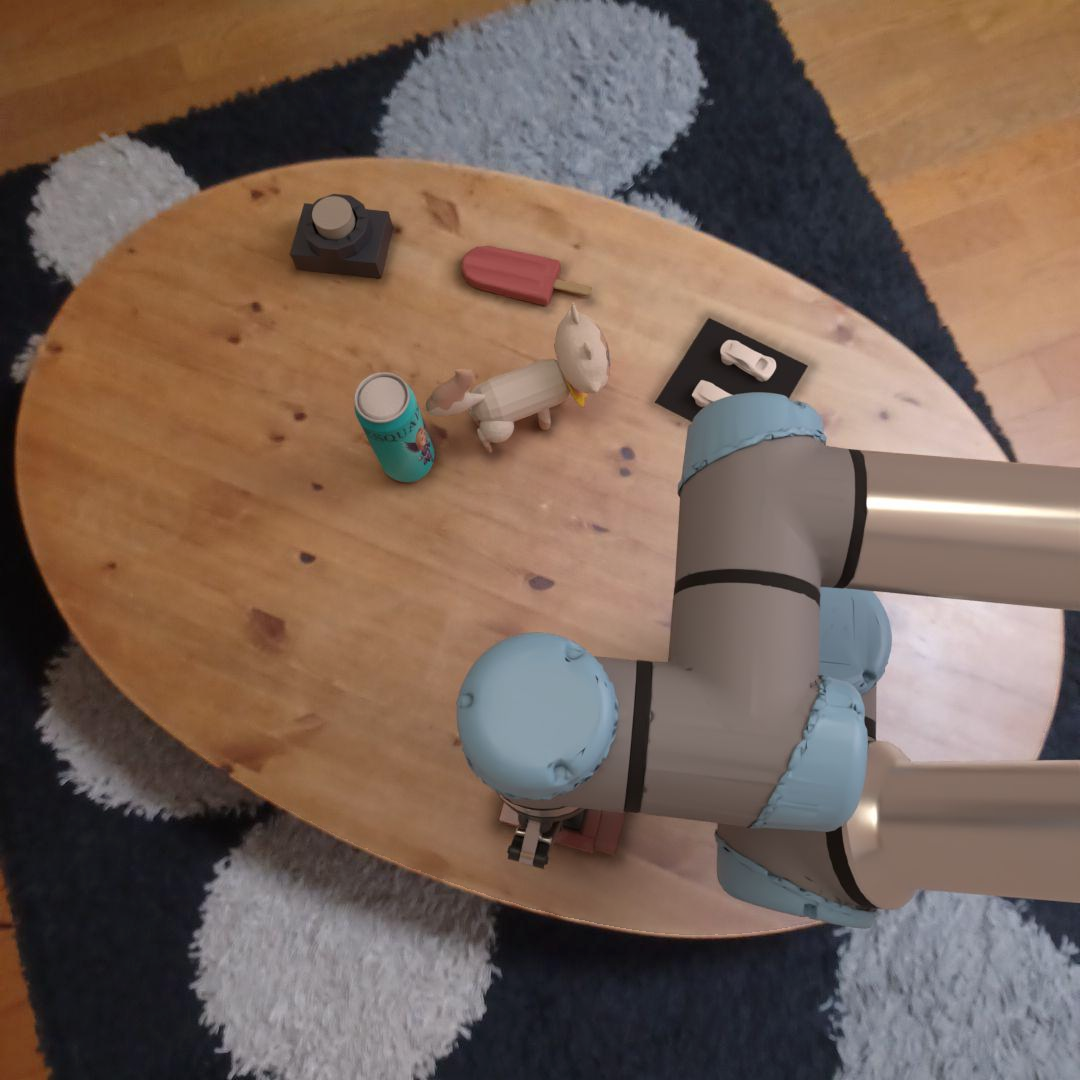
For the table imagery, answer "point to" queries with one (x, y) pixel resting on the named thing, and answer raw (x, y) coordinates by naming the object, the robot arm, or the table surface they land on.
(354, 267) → the button base
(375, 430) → the beverage can
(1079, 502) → the robot arm
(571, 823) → the black square panel
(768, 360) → the black square board
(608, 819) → the wooden frame
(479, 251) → the popsicle
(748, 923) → the table surface
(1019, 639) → the table surface
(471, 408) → the toy
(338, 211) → the plunger
